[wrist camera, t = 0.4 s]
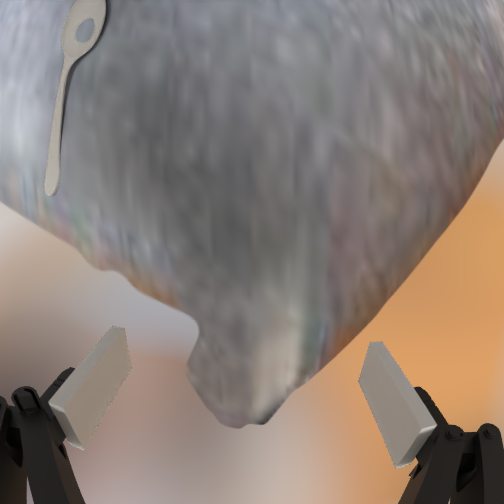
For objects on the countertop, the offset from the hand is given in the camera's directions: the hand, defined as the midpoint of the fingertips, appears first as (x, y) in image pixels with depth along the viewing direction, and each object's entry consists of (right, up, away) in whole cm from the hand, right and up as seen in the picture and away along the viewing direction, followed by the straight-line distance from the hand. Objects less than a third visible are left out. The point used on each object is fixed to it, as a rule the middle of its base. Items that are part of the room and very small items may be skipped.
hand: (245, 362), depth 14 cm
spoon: (-27, +29, +17) cm, 44 cm away
